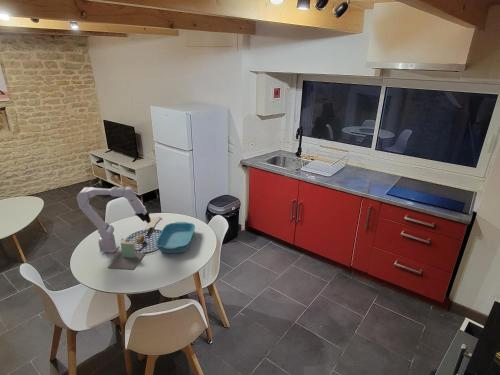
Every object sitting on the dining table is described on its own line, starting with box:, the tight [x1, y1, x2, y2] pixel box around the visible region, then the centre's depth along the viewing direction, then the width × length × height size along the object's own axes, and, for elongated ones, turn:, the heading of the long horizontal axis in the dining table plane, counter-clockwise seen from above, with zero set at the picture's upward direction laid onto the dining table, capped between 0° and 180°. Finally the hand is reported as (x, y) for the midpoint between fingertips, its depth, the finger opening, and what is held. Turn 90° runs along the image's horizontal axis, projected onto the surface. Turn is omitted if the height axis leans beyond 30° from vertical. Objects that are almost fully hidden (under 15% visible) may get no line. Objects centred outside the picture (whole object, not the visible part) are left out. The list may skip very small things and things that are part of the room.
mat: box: [107, 250, 146, 271], centre depth 195 cm, size 16×18×1 cm
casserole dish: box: [155, 221, 196, 254], centre depth 214 cm, size 37×22×7 cm, turn 0°
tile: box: [120, 241, 137, 258], centre depth 196 cm, size 8×2×10 cm, turn 84°
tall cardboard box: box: [135, 234, 145, 245], centre depth 210 cm, size 12×6×5 cm, turn 174°
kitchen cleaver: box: [144, 216, 162, 237], centre depth 235 cm, size 31×2×10 cm
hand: (147, 221), depth 204 cm, fingers open, 7 cm apart
